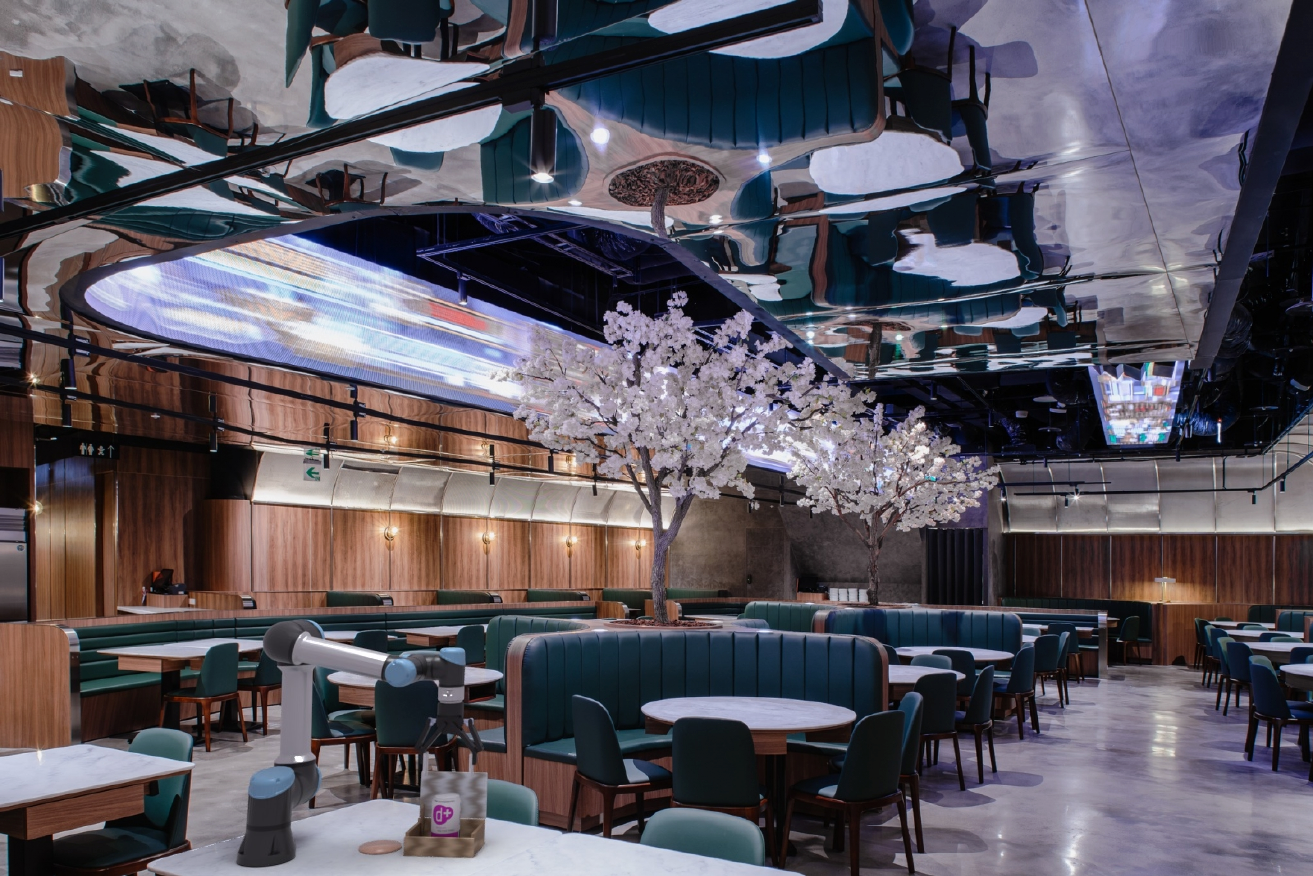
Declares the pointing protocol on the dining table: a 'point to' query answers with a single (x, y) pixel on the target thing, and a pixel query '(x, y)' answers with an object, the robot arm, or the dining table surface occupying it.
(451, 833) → the supplement can
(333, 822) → the dining table surface
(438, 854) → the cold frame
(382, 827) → the dining table surface
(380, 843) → the saucer
